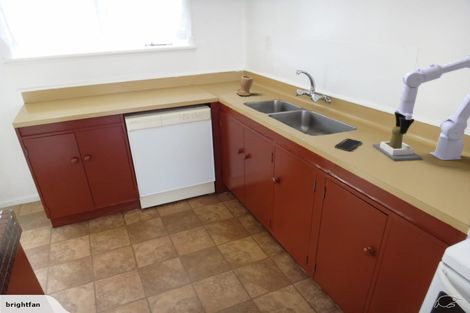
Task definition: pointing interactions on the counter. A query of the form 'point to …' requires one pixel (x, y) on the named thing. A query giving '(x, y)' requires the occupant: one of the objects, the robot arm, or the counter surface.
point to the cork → (396, 138)
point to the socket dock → (397, 151)
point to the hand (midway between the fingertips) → (400, 130)
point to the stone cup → (245, 86)
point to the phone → (348, 144)
